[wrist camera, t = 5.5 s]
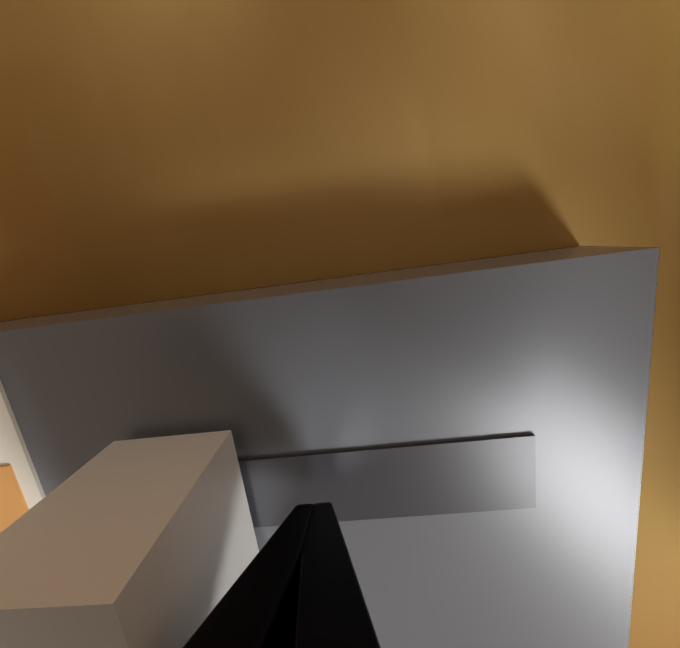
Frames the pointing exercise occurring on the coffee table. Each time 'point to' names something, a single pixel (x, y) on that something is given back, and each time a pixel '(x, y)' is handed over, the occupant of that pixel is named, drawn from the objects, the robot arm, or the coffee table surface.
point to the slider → (128, 547)
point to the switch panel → (388, 427)
